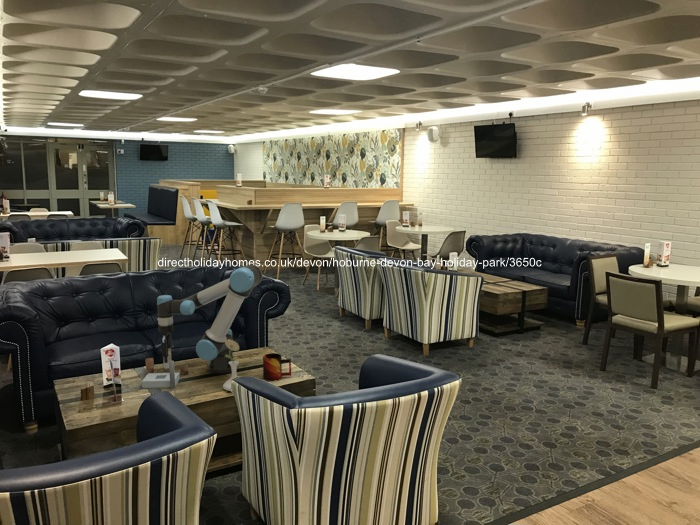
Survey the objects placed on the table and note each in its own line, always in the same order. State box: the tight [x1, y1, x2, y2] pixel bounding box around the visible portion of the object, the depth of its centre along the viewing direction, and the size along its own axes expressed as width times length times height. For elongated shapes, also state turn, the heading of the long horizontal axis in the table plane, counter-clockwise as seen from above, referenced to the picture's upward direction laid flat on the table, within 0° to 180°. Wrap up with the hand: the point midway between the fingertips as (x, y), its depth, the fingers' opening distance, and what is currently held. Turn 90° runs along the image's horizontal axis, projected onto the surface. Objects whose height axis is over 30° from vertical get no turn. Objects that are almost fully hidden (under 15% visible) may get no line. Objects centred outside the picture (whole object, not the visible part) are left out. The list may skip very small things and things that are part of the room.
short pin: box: [179, 363, 189, 377], centre depth 299 cm, size 4×4×5 cm
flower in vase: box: [222, 339, 240, 392], centre depth 277 cm, size 13×11×25 cm
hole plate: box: [141, 360, 181, 390], centre depth 284 cm, size 17×15×14 cm
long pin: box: [163, 348, 172, 373], centre depth 299 cm, size 4×4×14 cm
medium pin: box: [145, 357, 155, 376], centre depth 298 cm, size 4×4×9 cm
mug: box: [262, 352, 292, 382], centre depth 295 cm, size 10×14×12 cm
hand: (167, 366), depth 299 cm, fingers closed on long pin, 4 cm apart
